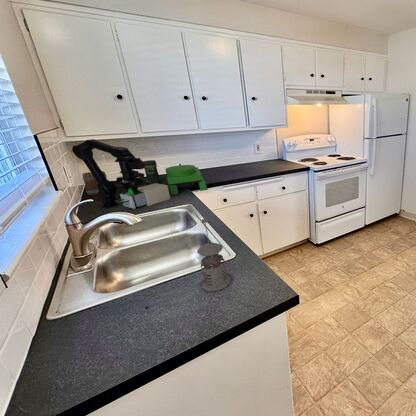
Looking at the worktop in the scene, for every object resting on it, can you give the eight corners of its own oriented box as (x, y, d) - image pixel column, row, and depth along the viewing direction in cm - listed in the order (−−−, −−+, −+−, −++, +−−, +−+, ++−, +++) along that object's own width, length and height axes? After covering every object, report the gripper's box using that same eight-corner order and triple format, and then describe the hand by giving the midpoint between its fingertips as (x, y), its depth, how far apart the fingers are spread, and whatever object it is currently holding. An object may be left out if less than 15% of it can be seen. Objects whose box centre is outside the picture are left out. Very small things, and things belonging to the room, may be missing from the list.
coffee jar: (161, 181, 225) (156, 159, 218) (160, 183, 218) (154, 160, 211) (148, 182, 222) (142, 160, 215) (146, 184, 215) (140, 161, 208)
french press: (205, 295, 90) (191, 228, 81) (197, 278, 99) (183, 215, 89) (234, 284, 95) (224, 219, 86) (224, 268, 104) (214, 209, 95)
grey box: (149, 205, 170) (145, 191, 166) (137, 202, 175) (133, 188, 172) (170, 198, 182) (167, 185, 178) (159, 196, 187) (155, 183, 184)
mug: (95, 195, 190) (88, 175, 185) (83, 194, 192) (76, 174, 187) (115, 189, 204) (109, 169, 199) (104, 188, 207) (97, 169, 201)
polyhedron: (134, 196, 164) (132, 189, 162) (127, 196, 165) (125, 189, 163) (140, 194, 169) (138, 187, 167) (133, 193, 170) (131, 186, 168)
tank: (202, 179, 229) (198, 160, 223) (207, 189, 200) (203, 168, 194) (169, 183, 217) (165, 163, 211) (170, 195, 189) (165, 172, 183)
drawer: (125, 211, 159) (121, 199, 156) (115, 208, 164) (111, 196, 161) (155, 202, 174) (152, 190, 171) (145, 199, 179) (142, 188, 176)
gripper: (149, 168, 163) (155, 192, 169) (131, 165, 171) (138, 188, 177) (129, 171, 154) (137, 197, 160) (112, 168, 162) (119, 193, 168)
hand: (133, 193), depth 167 cm, fingers closed on polyhedron, 5 cm apart
